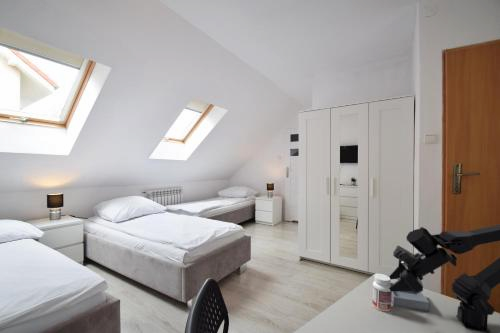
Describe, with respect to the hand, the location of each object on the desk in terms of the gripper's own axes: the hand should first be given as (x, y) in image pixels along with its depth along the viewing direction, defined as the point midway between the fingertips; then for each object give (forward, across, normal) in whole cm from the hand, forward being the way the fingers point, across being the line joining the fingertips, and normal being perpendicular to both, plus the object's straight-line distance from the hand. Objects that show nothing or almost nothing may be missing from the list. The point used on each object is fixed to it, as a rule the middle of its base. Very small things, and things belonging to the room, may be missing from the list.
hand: (389, 283), depth 87 cm
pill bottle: (+9, 0, +5) cm, 10 cm away
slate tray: (+3, -10, +11) cm, 15 cm away
